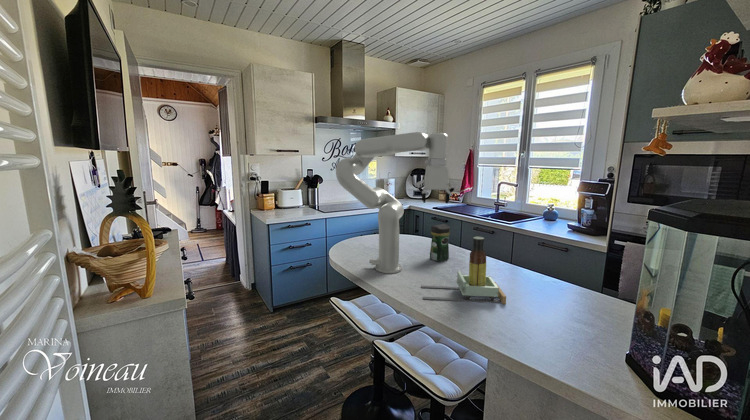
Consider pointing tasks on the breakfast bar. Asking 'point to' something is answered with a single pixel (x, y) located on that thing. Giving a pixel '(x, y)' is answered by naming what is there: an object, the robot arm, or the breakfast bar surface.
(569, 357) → the breakfast bar surface
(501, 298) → the track
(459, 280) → the cart
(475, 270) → the sauce bottle
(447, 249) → the coffee jar
